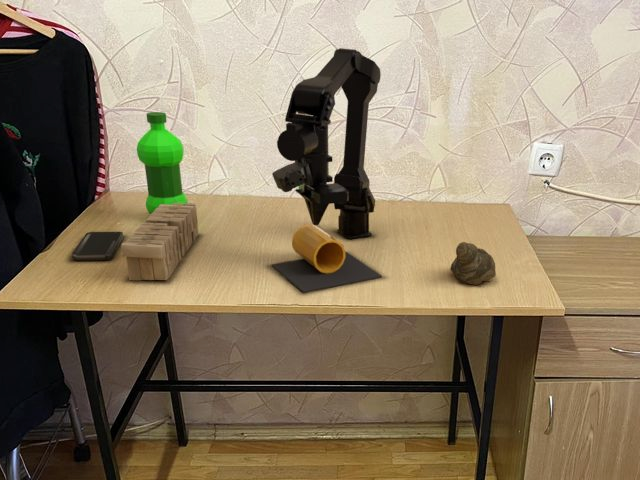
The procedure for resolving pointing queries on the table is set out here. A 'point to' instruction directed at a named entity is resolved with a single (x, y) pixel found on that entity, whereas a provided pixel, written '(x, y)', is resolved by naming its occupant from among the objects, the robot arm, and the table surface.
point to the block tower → (161, 241)
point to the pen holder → (318, 248)
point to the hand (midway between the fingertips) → (315, 224)
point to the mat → (324, 274)
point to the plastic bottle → (161, 163)
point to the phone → (98, 246)
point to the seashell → (473, 264)
